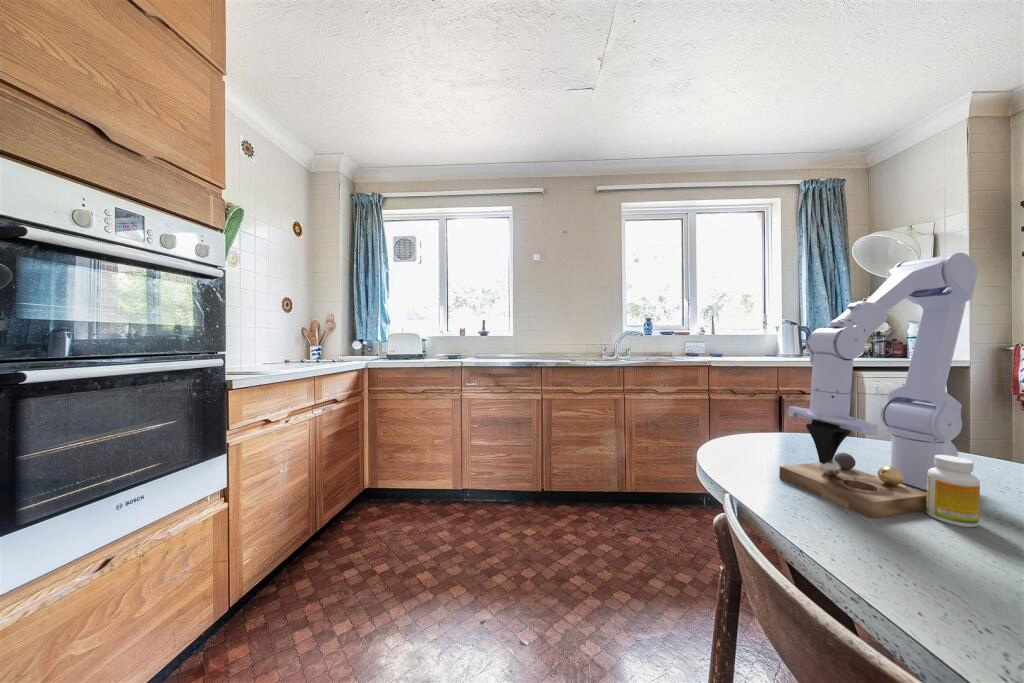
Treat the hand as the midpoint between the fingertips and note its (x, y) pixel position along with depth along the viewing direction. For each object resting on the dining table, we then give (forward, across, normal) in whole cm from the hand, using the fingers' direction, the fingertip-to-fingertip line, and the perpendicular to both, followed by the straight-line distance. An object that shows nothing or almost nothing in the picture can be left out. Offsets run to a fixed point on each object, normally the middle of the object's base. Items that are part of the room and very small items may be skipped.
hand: (825, 462), depth 70 cm
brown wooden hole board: (+5, +2, +2) cm, 6 cm away
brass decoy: (0, +6, +7) cm, 9 cm away
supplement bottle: (+5, +14, +8) cm, 16 cm away
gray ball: (0, -2, +7) cm, 7 cm away
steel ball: (+1, 0, +1) cm, 1 cm away
